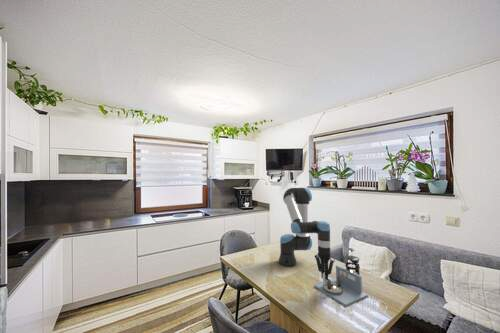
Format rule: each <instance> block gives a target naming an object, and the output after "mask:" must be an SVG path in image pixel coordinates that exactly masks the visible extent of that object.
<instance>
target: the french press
mask: <svg viewBox="0 0 500 333" xmlns="http://www.w3.org/2000/svg"><path fill="white" fill-rule="evenodd" d="M348 250H349V251H350V252H351V253H353V251H356V249H355V248H348ZM344 258H345V261H347V260H349V262H345V269H346V270H349V271H351V272H353V273H355V274H357V275H360V276H361V274H360V269H361V266H360V262H359V261H360V257H358V256H355V255H345V257H344ZM349 265H351V266H349ZM353 266H354V267H353Z"/></svg>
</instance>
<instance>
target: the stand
mask: <svg viewBox="0 0 500 333" xmlns="http://www.w3.org/2000/svg"><path fill="white" fill-rule="evenodd" d="M351 271H352V270H350V271H349V270H346V268H344V267H342V266H340V265H338V264H337V265H335V275H336V276H335V277H333V278H329V279H330V281H334V282H337V283H338V278H337V276H340V277H341V285H342V286H343V293H341V294H331V293H328V292H326V291H325V290H324V289H323V281H321V282H318V283H315V284H314V285H313V287H314V288H316V289H317V290H318V291H320V292H322V293H323V294H326V295H327V296H329V297H330V298H331V299H333V300H335V301H336V302H338V303H339V304H340V305H343V306H344V307H349V306H350V305H354V304H355V303H357V302H360V301H361V300H362V301H363V299H367V298H368V296H369V295H368V294H367V293H365V292H363V287H362V284H363V283H362V276H361V274H360V275H357V274H355V273H353V272H351Z"/></svg>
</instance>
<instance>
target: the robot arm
mask: <svg viewBox="0 0 500 333" xmlns="http://www.w3.org/2000/svg"><path fill="white" fill-rule="evenodd" d="M282 199H283V202H284V204H285V205H286V208H287V211H288V214H289V217H290V219H291V222H290V230H291V233H289V234H288V233H286V234H282V235H281V236H280V241H279V243H280V247H279V248H280V255H279V258H278V264H279V265H281V266H283V267H295V266H296V265H297V257H296V256H295V251H309V250H311V249H312V247H313V240H312V239H313V238H312V237H311V235H310V234H317V254H314V258H315V262H316V265H317V266H316V267H317V270H318V271H319V272H320V273H321V274H320V275H321V279H322V282H323V285H326V284H327V279H329V275H331V274H332V270H333V267H334V263H335V262H336V260H335V259H333V257H332V255H331V227H330V223H329V222H328V221H323V220H320V221H317V220H313V221H308V220H309V219H308V218H309V217H308V216H309V214H308V209H309V207H308V206H309V205H310V202H312V201H313V200H312V199H313V196H312V192H311V189H310V188H309V187H290V188H287V189H286V191H285V192H284V194H283V198H282ZM294 234H295V235H294Z"/></svg>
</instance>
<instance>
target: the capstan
mask: <svg viewBox="0 0 500 333" xmlns="http://www.w3.org/2000/svg"><path fill="white" fill-rule="evenodd" d="M337 278H338V283H337V282H334V281H330V279H331V278H328V279H327V284H326V285H323V289H324V290H325V291H326V292H328V293H331V294H341V293H343V286H342V285H341V277H340V276H337Z"/></svg>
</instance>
